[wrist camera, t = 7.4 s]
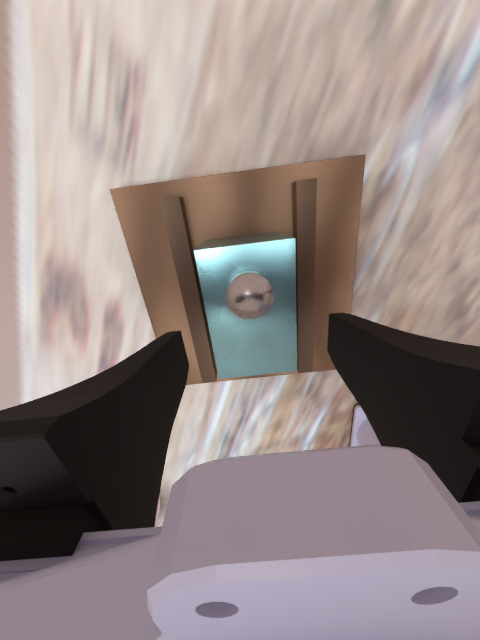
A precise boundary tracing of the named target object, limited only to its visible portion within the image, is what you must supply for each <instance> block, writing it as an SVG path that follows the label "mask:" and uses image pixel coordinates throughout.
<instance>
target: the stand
mask: <svg viewBox="0 0 480 640" xmlns="http://www.w3.org/2000/svg"><path fill="white" fill-rule="evenodd" d="M365 155H366V154H365ZM365 155H358V156H350V157H343V158H336V159H328V160H321V161H314V162H306V163H299V164H292V165H284V166H277V167H269V168H262V169H255V170H247V171H240V172H233V173H225V174H218V175H211V176H203V177H196V178H189V179H181V180H174V181H167V182H159V183H152V184H145V185H137V186H130V187H123V188H115V189H110V192H111V196H112V199H113V202H114V205H115V208H116V212H117V215H118V218H119V221H120V224H121V228H122V231H123V234H124V237H125V240H126V244H127V247H128V250H129V253H130V257H131V260H132V263H133V266H134V269H135V273H136V276H137V279H138V282H139V285H140V289H141V292H142V295H143V298H144V301H145V305H146V308H147V311H148V314H149V317H150V321H151V324H152V327H153V330H154V333H155V337H156V339H157V338H158V337H160V336H161V335H163V334H165V333H167V332H171V331H180V330H181V334H182V338H183V342H184V346H185V350H186V354H187V358H188V361H189V371H188V377H187V382H186V385H190V384H199V383H209V382H219V381H228V380H238V379H247V378H257V377H267V376H276V375H286V374H295V373H305V372H315V371H324V370H334V369H336V368H335V366H334V364H333V362H332V360H331V358H330V356H329V353H328V351H327V343H328V323H329V314H332V313H341V312H343V313H347V314H351V304H352V293H353V282H354V272H355V261H356V251H357V240H358V229H359V219H360V208H361V197H362V187H363V176H364V166H365ZM277 231H278V232H281V233H284V234H286V235H289V236H291V237H294V238H295V251H296V324H297V371H293V372H283V373H274V374H264V375H254V376H245V377H235V378H225V379H219V377H218V372H217V367H216V362H215V357H214V352H213V347H212V341H211V336H210V331H209V326H208V321H207V316H206V311H205V305H204V300H203V295H202V290H201V285H200V280H199V275H198V270H197V264H196V259H195V254H194V250H195V249H196V248H197V247H199V246H200V245H201V244H202V243H203V242H205V241H206V240H213V239H221V238H229V237H237V236H245V235H253V234H261V233H269V232H277Z"/></svg>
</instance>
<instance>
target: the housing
mask: <svg viewBox="0 0 480 640" xmlns="http://www.w3.org/2000/svg"><path fill="white" fill-rule="evenodd" d="M194 254H195V259H196V264H197V270H198V275H199V280H200V285H201V290H202V295H203V300H204V305H205V311H206V316H207V321H208V326H209V331H210V336H211V341H212V347H213V352H214V357H215V362H216V367H217V372H218V377H219V379H225V378H235V377H245V376H254V375H264V374H274V373H283V372H293V371H297V324H296V251H295V238H294V237H291V236H289V235H286V234H284V233H281V232H278V231H277V232H269V233H261V234H253V235H245V236H237V237H229V238H221V239H213V240H206V241H205V242H203V243H202V244H201V245H200V246H199V247H197V248H196V249H195V250H194Z"/></svg>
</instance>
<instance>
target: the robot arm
mask: <svg viewBox="0 0 480 640" xmlns="http://www.w3.org/2000/svg"><path fill="white" fill-rule="evenodd" d="M327 351H328V353H329V356H330V358H331V360H332V362H333V364H334V366H335V368H336V370H337V371H338V373H339V374H340V376H341V378H342V379H343V381H344V382H345V384H346V385H347V387H348V388H349V390H350V391H351V393H352V394H353V396H354V397H355V399H356V400H357V402H358V403H359V405H357V406H356V407H355V409H354V417H353V425H352V433H351V441H350V447H340V448H328V449H317V450H306V451H295V452H284V453H273V454H262V455H251V456H239V457H228V458H221V459H218V460H214V461H211V462H207V463H203V464H200V465H196V466H194V467H193V468H191V469H190V470H188V471H187V472H186V473H185V474H184V475H183V476H182V477H181V478H180V479H179V480H178V481H177V482H175V483H174V484H173V485H172V488H171V492H170V496H169V501H168V505H167V509H166V513H165V517H164V521H163V526H162V527H155V520H156V513H157V506H158V500H159V493H160V487H161V481H162V475H163V470H164V464H165V459H166V453H167V449H168V444H169V439H170V434H171V430H172V427H173V423H174V420H175V417H176V414H177V411H178V408H179V404H180V401H181V398H182V395H183V392H184V389H185V386H186V382H187V377H188V371H189V361H188V358H187V354H186V350H185V346H184V342H183V338H182V334H181V330H180V331H171V332H167V333H165V334H163V335H161V336H160V337H158V338H157V339H155V340H154V341H152V342H151V343H149V344H148V345H146V346H145V347H143V348H142V349H141V350H139V351H137V352H136V353H134V354H133V355H131V356H129V357H128V358H126V359H125V360H123V361H122V362H120V363H118V364H116V365H115V366H113V367H111V368H109V369H107V370H105V371H103V372H101V373H99V374H97V375H95V376H93V377H91V378H89V379H86V380H84V381H82V382H80V383H77V384H75V385H73V386H71V387H68V388H66V389H63V390H61V391H58V392H55V393H53V394H50V395H47V396H45V397H42V398H39V399H36V400H33V401H30V402H27V403H24V404H21V405H18V406H14V407H11V408H8V409H5V410H1V411H0V640H480V347H479V346H471V345H465V344H459V343H453V342H447V341H442V340H437V339H432V338H428V337H423V336H419V335H415V334H411V333H407V332H404V331H400V330H397V329H393V328H390V327H387V326H384V325H381V324H378V323H375V322H372V321H369V320H366V319H363V318H360V317H357V316H354V315H351V314H347V313H343V312H341V313H332V314H329V323H328V343H327Z"/></svg>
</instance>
